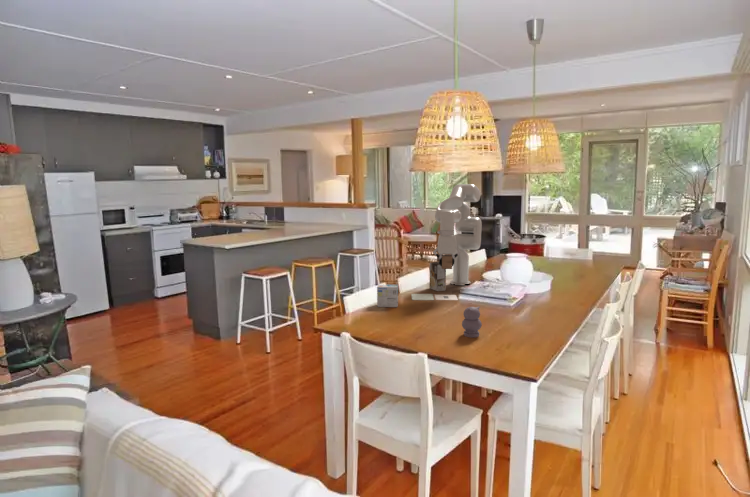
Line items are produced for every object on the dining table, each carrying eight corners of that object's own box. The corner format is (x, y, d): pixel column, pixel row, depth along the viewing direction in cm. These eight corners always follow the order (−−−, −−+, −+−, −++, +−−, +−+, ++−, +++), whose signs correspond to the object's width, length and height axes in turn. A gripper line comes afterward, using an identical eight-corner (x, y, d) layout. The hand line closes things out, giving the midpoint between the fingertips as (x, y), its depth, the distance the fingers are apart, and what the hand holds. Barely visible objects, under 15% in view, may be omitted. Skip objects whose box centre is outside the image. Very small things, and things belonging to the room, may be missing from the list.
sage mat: (411, 294, 264) (411, 293, 264) (432, 294, 263) (432, 293, 263) (412, 300, 250) (412, 299, 250) (434, 300, 250) (434, 299, 250)
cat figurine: (470, 330, 198) (470, 303, 197) (485, 334, 193) (486, 307, 191) (457, 334, 193) (458, 307, 191) (472, 339, 187) (473, 310, 185)
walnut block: (441, 267, 257) (441, 254, 256) (451, 267, 257) (451, 254, 256) (442, 269, 252) (442, 256, 250) (452, 269, 251) (452, 256, 250)
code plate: (434, 294, 262) (434, 294, 262) (455, 295, 262) (455, 294, 262) (436, 300, 250) (436, 299, 250) (458, 300, 250) (458, 299, 250)
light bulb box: (398, 304, 243) (398, 284, 241) (397, 307, 236) (397, 287, 235) (378, 303, 244) (378, 283, 242) (376, 307, 237) (376, 286, 236)
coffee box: (446, 290, 273) (446, 263, 271) (437, 291, 271) (437, 264, 268) (437, 287, 282) (438, 261, 279) (428, 288, 279) (429, 262, 277)
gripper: (431, 234, 248) (431, 267, 251) (463, 233, 247) (463, 267, 250) (430, 232, 255) (430, 264, 258) (461, 232, 255) (461, 264, 257)
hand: (446, 265), depth 254 cm, fingers closed on walnut block, 5 cm apart
